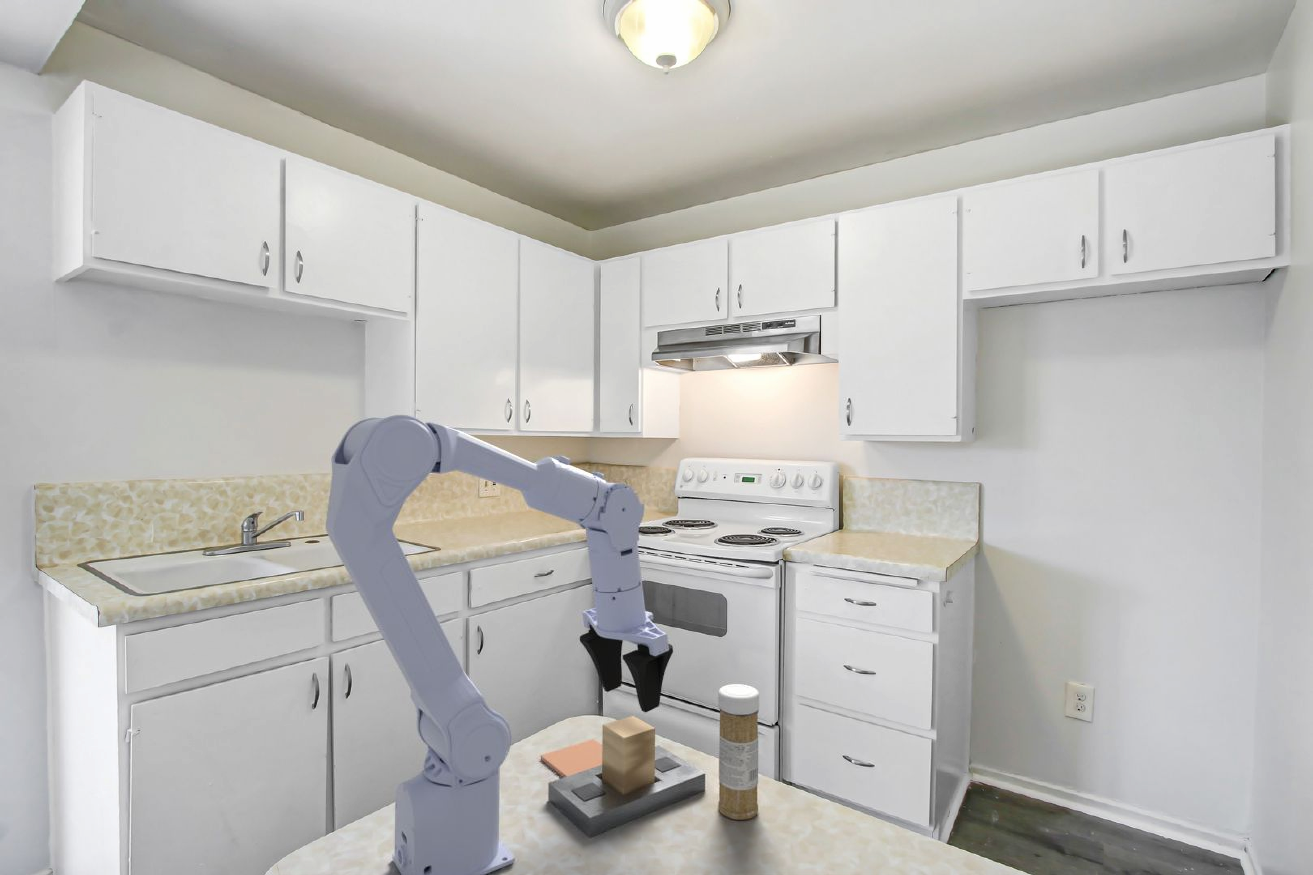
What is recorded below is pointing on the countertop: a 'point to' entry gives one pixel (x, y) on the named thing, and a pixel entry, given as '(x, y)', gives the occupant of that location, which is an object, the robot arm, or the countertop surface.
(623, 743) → the wooden peg
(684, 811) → the countertop surface
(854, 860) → the countertop surface
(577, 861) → the countertop surface
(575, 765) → the tile
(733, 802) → the sprinkles bottle
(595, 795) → the square hole bar
